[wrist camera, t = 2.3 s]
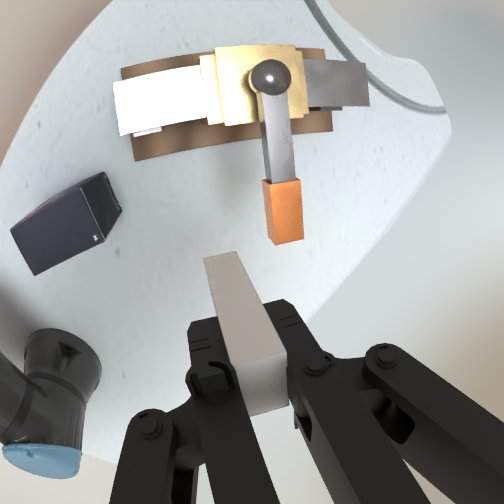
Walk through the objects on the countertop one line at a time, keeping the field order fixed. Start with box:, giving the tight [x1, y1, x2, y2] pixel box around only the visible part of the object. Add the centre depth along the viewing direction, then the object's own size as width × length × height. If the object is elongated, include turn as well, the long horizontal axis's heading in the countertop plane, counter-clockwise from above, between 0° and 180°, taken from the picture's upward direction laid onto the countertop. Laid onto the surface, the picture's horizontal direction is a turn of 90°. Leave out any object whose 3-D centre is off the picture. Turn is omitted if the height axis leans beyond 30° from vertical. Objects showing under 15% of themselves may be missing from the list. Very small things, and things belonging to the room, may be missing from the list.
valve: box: [113, 45, 370, 137], centre depth 26 cm, size 25×7×13 cm, turn 97°
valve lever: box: [248, 59, 304, 245], centre depth 22 cm, size 15×3×2 cm, turn 7°
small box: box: [10, 172, 122, 276], centre depth 29 cm, size 11×6×10 cm, turn 107°
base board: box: [121, 48, 333, 162], centre depth 32 cm, size 26×12×2 cm, turn 97°
